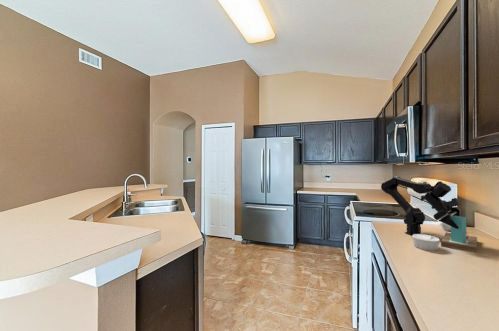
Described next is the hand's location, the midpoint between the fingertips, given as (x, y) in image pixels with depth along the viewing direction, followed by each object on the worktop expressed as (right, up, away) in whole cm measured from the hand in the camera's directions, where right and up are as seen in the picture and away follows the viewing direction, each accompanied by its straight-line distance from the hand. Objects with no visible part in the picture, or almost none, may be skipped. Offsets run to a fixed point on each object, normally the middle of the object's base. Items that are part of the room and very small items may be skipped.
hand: (461, 227), depth 120 cm
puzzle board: (+3, -10, +5) cm, 12 cm away
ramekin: (-18, -11, 0) cm, 21 cm away
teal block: (-1, -8, +1) cm, 8 cm away
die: (+18, -10, +30) cm, 36 cm away
